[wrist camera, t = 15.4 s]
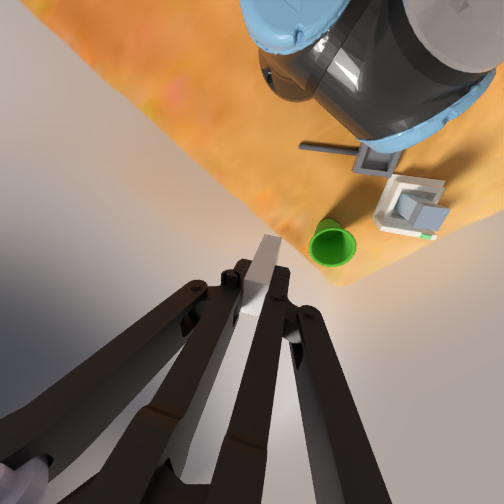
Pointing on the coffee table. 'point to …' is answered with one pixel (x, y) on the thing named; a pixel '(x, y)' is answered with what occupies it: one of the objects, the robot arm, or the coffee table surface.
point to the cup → (331, 244)
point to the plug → (421, 211)
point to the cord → (328, 149)
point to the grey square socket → (375, 162)
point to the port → (394, 186)
